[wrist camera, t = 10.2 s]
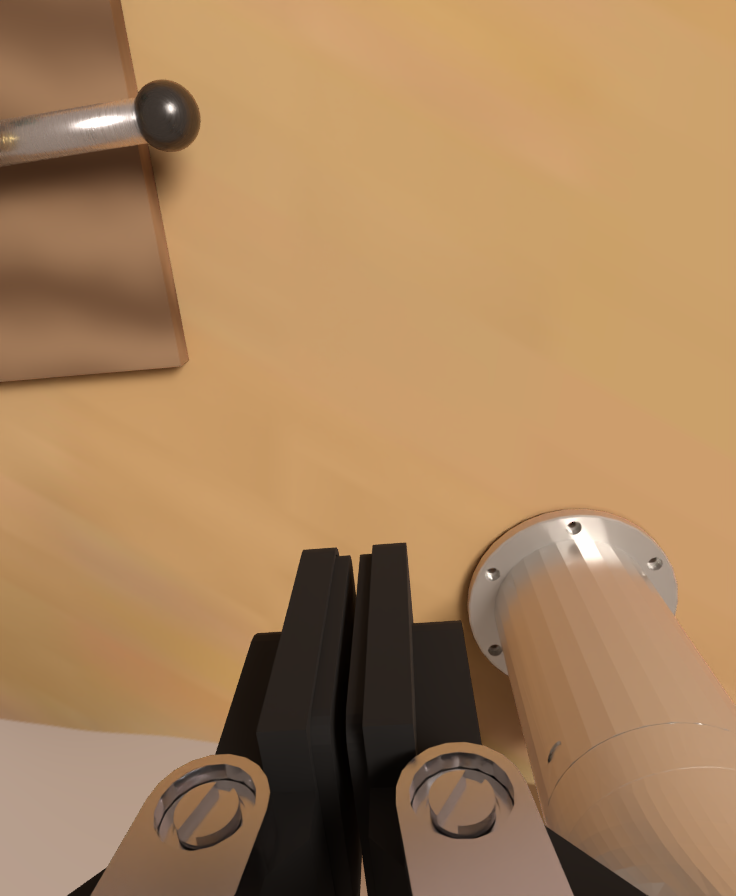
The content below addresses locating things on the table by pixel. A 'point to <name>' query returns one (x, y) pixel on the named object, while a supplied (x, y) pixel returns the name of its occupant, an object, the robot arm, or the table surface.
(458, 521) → the table surface
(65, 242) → the stand
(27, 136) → the lever
